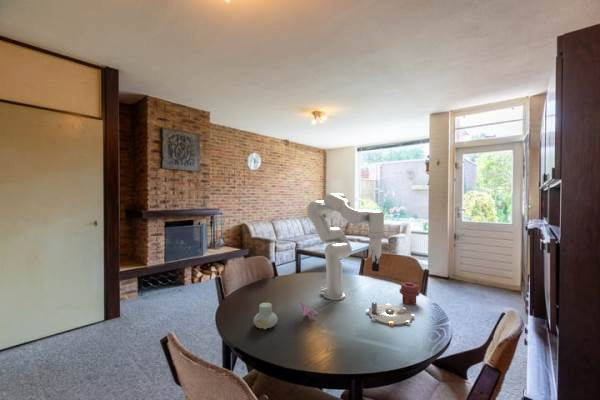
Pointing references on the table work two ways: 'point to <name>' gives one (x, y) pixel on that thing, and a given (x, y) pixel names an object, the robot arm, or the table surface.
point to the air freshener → (265, 316)
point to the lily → (306, 310)
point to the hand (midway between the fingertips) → (375, 270)
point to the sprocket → (390, 314)
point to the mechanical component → (409, 293)
